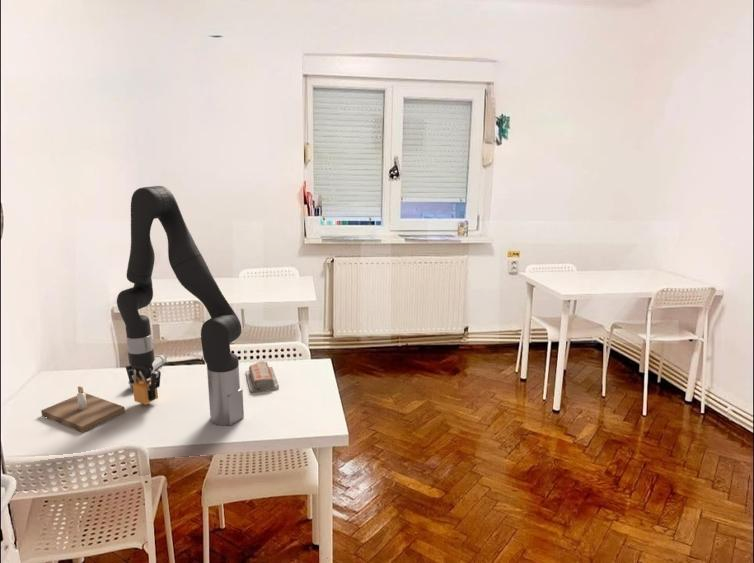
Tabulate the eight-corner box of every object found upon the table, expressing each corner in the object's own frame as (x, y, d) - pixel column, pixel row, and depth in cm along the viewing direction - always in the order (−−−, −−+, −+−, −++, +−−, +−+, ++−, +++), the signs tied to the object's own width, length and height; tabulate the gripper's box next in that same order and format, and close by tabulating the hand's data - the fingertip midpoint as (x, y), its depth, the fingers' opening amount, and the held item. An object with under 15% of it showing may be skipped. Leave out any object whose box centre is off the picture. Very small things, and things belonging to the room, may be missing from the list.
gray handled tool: (168, 353, 204) (140, 371, 179) (168, 370, 204) (141, 390, 180) (154, 353, 204) (125, 371, 179) (155, 370, 204) (125, 390, 179)
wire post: (88, 407, 164) (85, 385, 162) (81, 410, 162) (78, 388, 161) (84, 406, 165) (81, 384, 163) (77, 409, 163) (74, 387, 162)
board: (124, 412, 166) (124, 406, 165) (82, 432, 154) (82, 426, 153) (84, 398, 175) (84, 392, 174) (42, 416, 163) (41, 410, 162)
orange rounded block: (158, 398, 172) (155, 378, 170) (145, 404, 168) (142, 384, 166) (147, 394, 174) (145, 375, 172) (134, 401, 170) (132, 381, 168)
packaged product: (279, 377, 182) (249, 381, 179) (279, 390, 183) (250, 394, 180) (272, 358, 199) (245, 361, 196) (272, 370, 200) (245, 373, 197)
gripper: (166, 348, 167) (171, 397, 171) (135, 341, 173) (141, 388, 177) (145, 356, 160) (151, 407, 164) (115, 348, 167) (121, 397, 171)
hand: (146, 397), depth 171 cm, fingers closed on orange rounded block, 5 cm apart
